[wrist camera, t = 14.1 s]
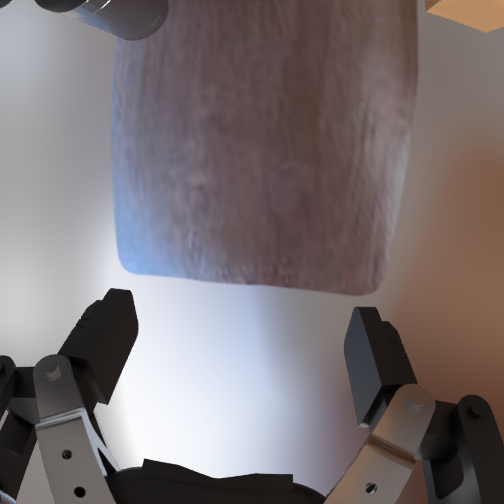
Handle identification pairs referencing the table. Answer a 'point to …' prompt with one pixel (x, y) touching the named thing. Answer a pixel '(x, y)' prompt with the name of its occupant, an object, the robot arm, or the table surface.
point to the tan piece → (470, 12)
